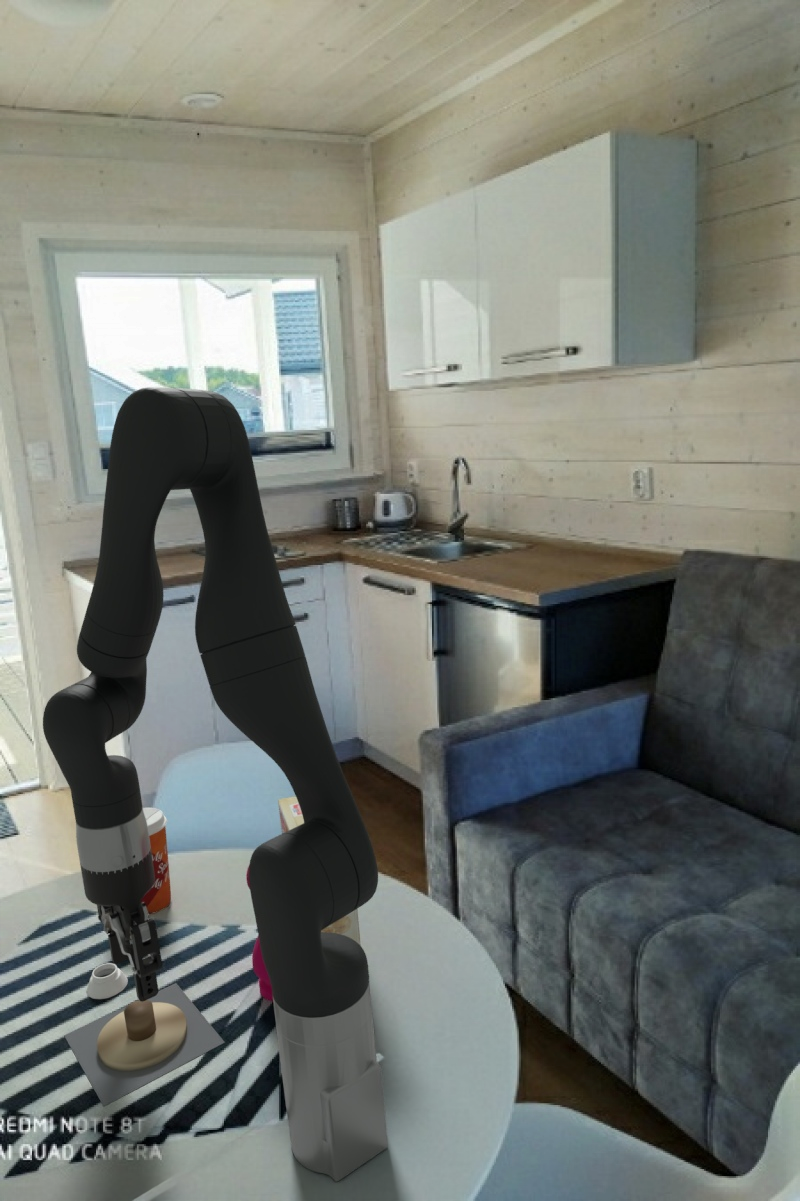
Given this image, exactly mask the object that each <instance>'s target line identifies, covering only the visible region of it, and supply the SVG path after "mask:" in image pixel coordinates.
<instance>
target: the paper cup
mask: <svg viewBox="0 0 800 1201" xmlns="http://www.w3.org/2000/svg"><path fill="white" fill-rule="evenodd" d="M143 812H144V815H145V818H146V822H147V826H148V832H149V839H150V846H151V853H152V860H153V867H154V874H155V882H154V884H153V886H152V888H151V889H150V890H149V891H148V892H147V893H146V894H145V895H144V897H143V898H142V900H141V903H142V902H144V903H145V904H146V907H147V910H148V915H149V914H150V915H151V914H156V913H158V912H161V911H162V910H164V909H166V908H167V907H168V906H169V905H170V904H171V901H172V891H171V889H172V888H171V878H170V876H171V875H170V864H169V855H168V854H169V852H168V844H167V843H168V842H167V840H168V839H167V829H166V825H167V824H168V819H167V817H166V816H165V815H164V813H163V811H162V810H161V809H159V808H155V807H143Z"/></svg>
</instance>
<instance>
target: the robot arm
mask: <svg viewBox="0 0 800 1201" xmlns="http://www.w3.org/2000/svg"><path fill="white" fill-rule="evenodd" d="M109 446H110V447H109V454H108V463H107V464H108V465H107V473H106V483H105V484H106V485H105V491H104V492H105V493H104V502H103V512H102V524H101V535H100V543H99V544H100V545H99V547H100V548H99V556H98V562H97V567H96V573H95V577H94V581H93V586H92V590H91V593H90V596H89V600H88V604H87V605H86V606H87V608H86V610H85V614H84V617H83V621H82V625H81V628H80V632H79V635H78V638H77V645H76V654H77V658H78V660H79V662H80V663H81V665H82V666H83V667H84V668H85V669H86V670H88V671H90V673H89V675H88V676H87V677H85V678H84V679H81V680H79V681H77V682H75V683H73V684H71V685H69V686H67V687H65V688H63V689H61V690H59V691H57V692H56V693H54V694H53V695H52V696H51V697H50V698H49V699H48V701H47V703H46V705H45V707H44V711H43V717H42V730H43V733H44V734H43V735H44V738H45V741H46V743H47V744H48V748H49V749H50V750H51V752H52V755H53V756H54V759H55V760H56V762H57V764H58V767H59V768H60V771H61V774H62V775H63V777H64V778H65V780H66V782H67V785H68V786H69V789H70V794H71V795H70V796H71V801H72V809H73V815H74V817H75V818H74V819H75V828H76V829H75V838H76V840H75V841H76V846H77V852H78V854H77V855H78V857H79V858H78V860H79V866H80V871H81V877H82V883H83V888H84V890H83V891H84V894H85V898H86V899H87V900H88V901H89V903H92V904H93V905H96V908H97V915H98V916H97V918H98V920H99V921H100V923H102V924H103V931H104V932H105V933H106V935H107V939H108V944H109V951H110V957H111V960H112V962H113V964H115V965H119V964H120V963H124V961H127V960H129V962H130V966H131V971H132V973H133V978H134V979H133V980H134V985H135V991H136V997H137V998H138V1000H140V1001H141V1002H143V1001H146V1000H148V999H150V998H152V997H154V996H156V995H157V994H158V991H159V985H158V978H157V971H160V970H162V969H163V960H162V955H161V948H160V943H159V937H158V931H157V923H156V922H157V921H156V920H155V919H154V918H153V917H151V918H148V917H149V914H148V910H147V907H146V904H145V903H144V902H142V903H141V900H142V898H143V897H144V895H145V894H146V893H147V892H148V891H149V890H150V889H151V888H152V886H153V884H154V882H155V874H154V867H153V860H152V853H151V846H150V839H149V832H148V826H147V822H146V818H145V815H144V812H143V808H144V807H143V802H142V794H141V787H140V780H139V774H138V770H137V767H136V766H135V763H134V762H133V761H132V760H131V759H129V757H126V756H122V755H115V754H113V755H112V754H111V755H108V754H107V749H106V744H107V743H108V742H109V741H111V740H112V739H114V738H116V737H117V736H119V735H121V734H122V733H124V732H126V731H127V730H129V729H130V728H131V727H132V726H133V725H134V724H135V723H136V722H137V720H138V718H139V716H140V715H141V713H142V710H143V708H144V705H145V702H146V694H147V676H148V667H147V666H148V665H147V658H148V655H149V652H150V650H151V647H152V643H153V641H154V638H155V634H156V632H157V629H158V626H159V622H160V619H161V615H162V612H163V606H164V585H163V584H164V583H163V578H162V574H161V570H160V566H159V562H158V557H157V553H156V547H155V546H156V544H155V535H156V534H155V533H156V526H157V523H158V519H159V516H160V514H161V511H162V509H163V506H164V504H165V503H166V501H167V497H168V495H169V494H170V492H171V491H176V490H177V491H179V490H189V491H190V493H191V496H192V498H193V500H194V501H193V502H194V504H195V507H196V511H197V513H198V517H199V521H200V526H201V528H202V534H203V537H204V538H203V539H204V548H205V549H204V550H205V551H204V552H205V553H204V557H205V558H204V563H203V571H202V577H201V578H202V579H201V583H200V587H199V593H198V597H197V603H196V609H195V610H196V612H195V620H194V632H195V640H196V645H197V649H198V652H199V653H198V654H200V655H199V656H200V659H201V662H202V665H203V670H204V672H205V676H206V678H207V682H208V684H209V688H210V691H211V695H212V697H213V699H214V702H215V703H216V706H218V708H219V709H220V711H221V712H222V713H223V714H224V716H225V717H226V718H227V719H228V720H229V721H230V722H231V723H232V724H233V725H234V726H235V727H236V728H237V729H238V730H239V731H240V732H241V733H242V734H244V736H246V737H247V738H248V739H249V740H250V741H251V742H252V743H254V744H255V745H256V746H257V747H258V748H259V749H261V751H263V752H264V753H265V754H266V755H267V756H268V757H270V759H272V760H273V762H274V763H276V766H278V767H279V768H280V770H281V772H282V773H283V774H284V775H285V777H286V778H287V781H288V783H289V784H290V786H291V788H292V791H293V793H294V795H295V796H296V798H297V800H298V803H299V806H300V808H301V812H302V815H303V819H304V823H303V824H301V825H299V826H297V827H295V828H293V829H291V830H289V831H287V832H285V833H283V834H282V833H280V834H278V835H277V836H274V837H273V838H271V839H268V840H266V841H265V842H263V843H261V844H260V845H258V846H257V847H256V848H255V849H254V850H253V853H252V854H251V857H250V860H249V864H248V867H249V886H250V889H249V890H250V891H249V892H250V897H251V903H252V908H253V913H254V918H255V923H256V928H257V929H256V930H257V936H258V935H259V941H260V948H261V953H262V957H263V961H264V964H265V967H266V970H267V973H268V976H269V979H270V982H271V987H272V994H273V1002H272V1003H273V1011H274V1018H275V1026H276V1034H277V1035H276V1036H277V1044H278V1053H279V1060H280V1069H281V1075H282V1084H283V1085H282V1086H283V1093H284V1100H285V1107H286V1108H285V1110H286V1116H287V1117H286V1118H287V1124H288V1130H289V1131H288V1132H289V1140H290V1147H291V1151H292V1153H293V1155H294V1157H295V1159H296V1160H297V1162H299V1164H301V1165H302V1166H303V1167H304V1168H306V1169H307V1170H309V1171H312V1172H315V1173H319V1174H324V1175H328V1176H329V1177H331V1179H333V1181H334V1182H338V1181H341V1180H342V1179H344V1178H345V1177H347V1176H348V1175H349V1174H351V1173H352V1172H354V1171H356V1170H357V1169H358V1168H359V1167H361V1166H363V1165H364V1164H365V1163H367V1162H368V1161H370V1160H371V1159H373V1158H374V1157H376V1156H378V1154H380V1153H382V1152H383V1151H384V1150H386V1149H388V1147H389V1141H388V1129H387V1119H386V1107H385V1096H384V1095H385V1094H384V1085H383V1075H382V1066H381V1064H379V1062H378V1060H377V1050H376V1041H375V1029H374V1018H373V1007H372V1006H373V1005H372V997H371V996H372V995H371V994H372V993H371V984H370V974H369V973H370V972H369V970H370V969H369V964H368V958H367V954H366V953H365V950H364V948H363V947H362V945H361V946H360V945H359V944H358V943H357V942H356V941H354V940H353V939H351V938H349V937H347V936H345V935H341V934H337V933H331V932H321V930H323V929H324V928H326V927H328V926H329V925H331V924H333V923H334V922H336V921H338V920H339V919H341V918H343V917H344V916H346V915H348V914H349V913H351V912H353V911H354V910H356V909H359V908H361V907H363V906H364V905H366V903H367V902H369V901H370V900H371V899H373V897H374V895H375V893H376V892H377V887H378V884H379V870H378V862H377V858H376V854H375V850H374V847H373V844H372V840H371V838H370V835H369V832H368V830H367V827H366V824H365V823H364V820H363V818H362V815H361V812H360V810H359V808H358V805H357V803H356V800H355V798H354V795H353V793H352V791H351V788H350V786H349V784H348V780H347V779H346V776H345V773H344V771H343V768H342V766H341V764H340V761H339V759H338V756H337V753H336V750H335V747H334V746H333V742H332V740H331V736H330V734H329V731H328V728H327V726H326V722H325V718H324V716H323V712H322V710H321V705H320V703H319V700H318V697H317V694H316V690H315V686H314V683H313V679H312V675H311V672H310V668H309V664H308V661H307V656H306V654H305V653H306V652H305V650H304V647H303V643H302V640H301V638H300V634H299V630H298V627H297V624H296V621H295V618H294V616H293V613H292V610H291V608H290V605H289V604H290V603H289V601H288V598H287V595H286V592H285V588H284V585H283V581H282V578H281V575H280V571H279V567H278V564H277V560H276V557H275V552H274V549H273V545H272V543H271V539H270V535H269V532H268V528H267V525H266V519H265V514H264V511H263V506H262V501H261V500H262V499H261V495H260V490H259V484H258V480H257V474H256V471H255V465H254V460H253V455H252V450H251V446H250V442H249V438H248V434H247V430H246V427H245V424H244V422H243V420H242V417H241V415H240V412H238V410H237V409H236V406H234V404H233V403H232V402H231V401H230V400H229V399H228V398H227V397H225V396H224V395H223V394H220V393H217V392H214V391H213V390H212V391H211V390H207V389H206V390H204V389H196V388H182V387H169V386H168V387H167V386H148V387H142V388H139V389H136V390H135V391H133V392H132V393H131V394H129V395H128V396H127V397H126V398H125V400H124V401H123V402H122V404H121V406H120V407H119V410H118V412H117V415H116V418H115V422H114V425H113V429H112V433H111V440H110V445H109ZM131 943H132V944H131ZM146 956H147V957H146ZM144 957H145V958H144Z"/></svg>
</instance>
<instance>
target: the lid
mask: <svg viewBox="0 0 800 1201" xmlns="http://www.w3.org/2000/svg"><path fill="white" fill-rule="evenodd" d="M126 1006H127V1007H126ZM126 1006H125V1007H126V1008H125V1010H124V1011H123V1012H121V1013H120V1014H118V1015H116V1016H115V1017H114V1018H112V1019H111V1020H110V1021H109V1022H108V1023H107V1024H106V1025H105V1026H104V1027H103V1029H102V1030H101V1032H100V1034H99V1036H98V1039H97V1049H98V1054H99V1058H100V1060H101V1061H102V1063H103V1064H105V1065H106V1066H107V1067H109V1068H112V1069H114V1070H119V1071H135V1070H140V1069H144V1068H148V1067H151V1066H153V1065H156V1064H158V1063H160V1062H162V1061H163V1060H165V1059H167V1058H168V1057H169V1056H171V1055H172V1054H173V1053H174V1052H175V1051H176V1050H177V1049H178V1048H179V1047H180V1046H181V1045H182V1043H183V1041H184V1040H185V1037H186V1034H187V1024H186V1017H185V1015H184V1013H183V1012H182V1010H181V1009H179V1008H178V1007H176V1006H174V1005H172V1004H168V1003H161V1002H153V1003H152V1002H150V1001H149V1000H146V1001H143V1002H141V1001H140V1000H139V999H138V1000H135V1001H132V1002H131V1003H129V1004H128V1005H126Z"/></svg>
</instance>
